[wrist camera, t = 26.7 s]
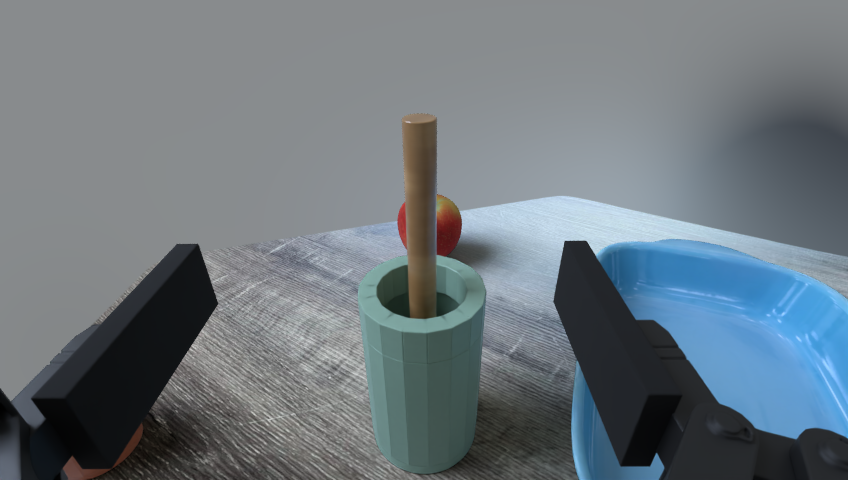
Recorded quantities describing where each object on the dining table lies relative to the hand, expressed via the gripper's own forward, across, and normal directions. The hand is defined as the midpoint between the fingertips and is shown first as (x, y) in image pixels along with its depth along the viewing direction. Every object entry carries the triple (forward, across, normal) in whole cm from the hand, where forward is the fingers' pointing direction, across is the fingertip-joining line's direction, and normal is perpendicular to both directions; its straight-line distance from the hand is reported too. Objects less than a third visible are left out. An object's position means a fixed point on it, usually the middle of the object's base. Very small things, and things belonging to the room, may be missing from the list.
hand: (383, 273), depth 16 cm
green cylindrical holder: (+9, +1, -22) cm, 24 cm away
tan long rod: (+9, +1, -21) cm, 23 cm away
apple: (+34, +2, -22) cm, 41 cm away
